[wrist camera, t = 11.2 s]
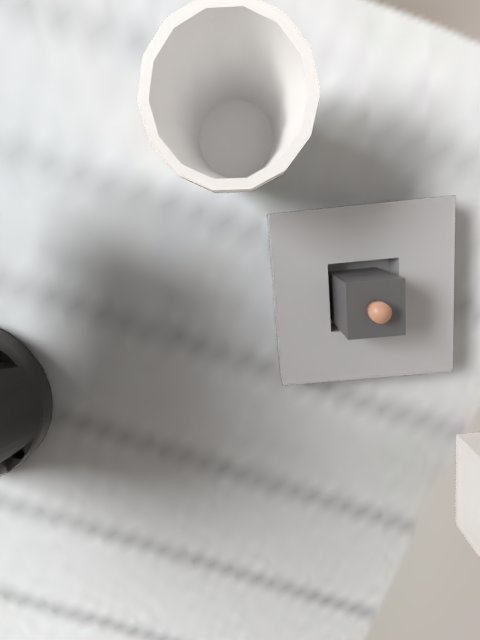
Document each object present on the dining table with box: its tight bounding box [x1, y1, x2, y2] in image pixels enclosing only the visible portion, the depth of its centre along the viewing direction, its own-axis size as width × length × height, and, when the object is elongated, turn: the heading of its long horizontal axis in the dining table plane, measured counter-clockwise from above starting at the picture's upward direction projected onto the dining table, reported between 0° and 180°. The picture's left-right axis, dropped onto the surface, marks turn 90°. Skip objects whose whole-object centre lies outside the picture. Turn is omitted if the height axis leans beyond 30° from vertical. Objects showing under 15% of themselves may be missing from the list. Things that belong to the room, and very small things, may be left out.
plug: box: [328, 267, 406, 340], centre depth 32 cm, size 4×4×8 cm
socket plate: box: [267, 195, 456, 385], centre depth 35 cm, size 14×14×4 cm
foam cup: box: [137, 0, 320, 193], centre depth 28 cm, size 10×9×13 cm
